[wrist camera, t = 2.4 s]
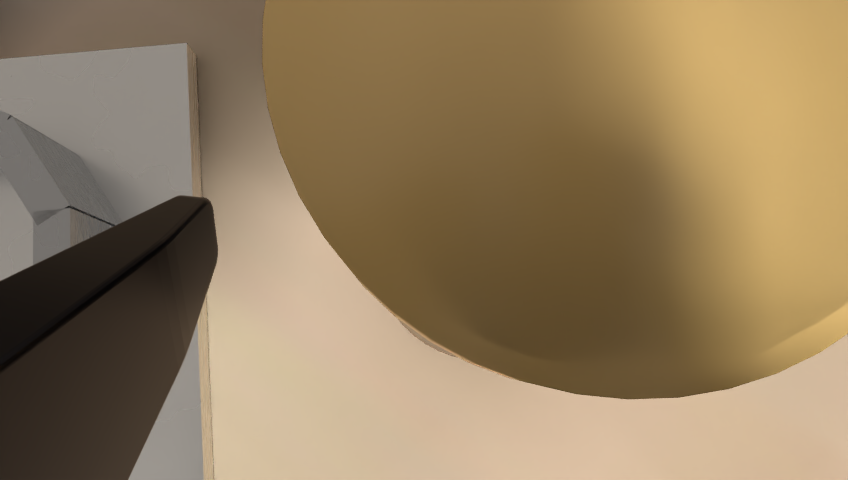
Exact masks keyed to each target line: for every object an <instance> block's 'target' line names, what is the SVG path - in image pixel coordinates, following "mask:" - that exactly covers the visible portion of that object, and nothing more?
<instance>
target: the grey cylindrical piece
mask: <svg viewBox="0 0 848 480" xmlns="http://www.w3.org/2000/svg"><path fill="white" fill-rule="evenodd" d="M262 65H263V73H264V81H265V88H266V96H267V104H268V110H269V113H270V117H271V121H272V124H273V128H274V131H275V135H276V139H277V142H278V146H279V149H280V153H281V155H282V158H283V160H284V162H285V164H286V167H287V169H288V171H289V174H290V176H291V178H292V181H293V183H294V185H295V188H296V190H297V192H298V195H299V197H300V198H301V200H302V201H303V203H304V205H305V206H306V208H307V210H308V211H309V213H310V215H311V216H312V218H313V220H314V221H315V223H316V225H317V226H318V228H319V230H320V231H321V233H322V234H323V236H324V238H325V239H326V240H327V241H328V243H329V244H330V245H331V246H332V248H333V249H334V250H335V252H336V253H337V254H338V255H339V257H340V258H341V259H342V260H343V262H344V263H345V264H346V265H347V267H348V268H349V269H350V270H351V271H352V273H353V274H354V275H355V276H356V278H357V279H358V280H359V281H360V283H361V284H362V285H363V286H364V288H366V289H367V290H368V291H369V292H370V293H371V294H372V295H373V296H374V297H375V298H376V299H377V300H378V301H379V302H380V303H381V304H382V305H383V306H385V307H386V308H387V309H388V310H389V311H390V312H391V313H392V314H393V315H394V316H395V317H396V318H398V320H399V321H400V322H401V323H402V325H403V326H404V327H405V328H407V329H408V330H409V331H410V332H411V333H412V334H413V335H414V336H415V337H417V338H418V339H419V340H421V341H422V342H424V343H425V344H427V345H429V346H430V347H432V348H434V349H436V350H438V351H440V352H443V353H446V354H448V355H451V356H454V357H459V358H461V359H463V360H465V361H467V362H468V363H471V364H474V365H476V366H479V367H482V368H484V369H487V370H489V371H492V372H495V373H497V374H500V375H503V376H505V377H508V378H511V379H515V380H519V381H523V382H527V383H532V384H536V385H540V386H544V387H549V388H553V389H557V390H561V391H565V392H570V393H574V394H580V395H590V396H600V397H610V398H620V399H649V398H678V397H685V396H690V395H696V394H702V393H708V392H713V391H719V390H725V389H730V388H733V387H736V386H739V385H742V384H745V383H749V382H752V381H755V380H758V379H761V378H764V377H767V376H770V375H773V374H777V373H779V372H781V371H783V370H785V369H787V368H789V367H791V366H793V365H795V364H797V363H799V362H801V361H803V360H805V359H807V358H809V357H812V356H814V355H816V354H818V353H820V352H821V351H823V350H824V349H826V348H827V347H829V346H830V345H832V344H833V343H835V342H836V341H838V340H839V339H841V338H842V337H843V336H845V335H846V334H848V0H266V2H265V8H264V15H263V43H262Z"/></svg>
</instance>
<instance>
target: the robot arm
mask: <svg viewBox="0 0 848 480" xmlns="http://www.w3.org/2000/svg"><path fill="white" fill-rule="evenodd" d="M217 257H218V245H217V237H216V229H215V221H214V213H213V207H212V204H211V202H210V201H209V200H208V199H207V198H204V197H195V196H185V195H178V196H176V197H174V198H171V199H169V200H167V201H165V202H163V203H161V204H159V205H157V206H155V207H153V208H151V209H149V210H146V211H144V212H142V213H140V214H138V215H136V216H134V217H132V218H130V219H128V220H126V221H124V222H122V223H119V224H117V225H115V226H113V227H111V228H109V229H107V230H105V231H103V232H101V233H99V234H97V235H94V236H92V237H90V238H88V239H86V240H84V241H82V242H80V243H78V244H76V245H74V246H72V247H69V248H67V249H65V250H63V251H61V252H59V253H57V254H55V255H53V256H51V257H49V258H47V259H44V260H42V261H40V262H38V263H36V264H34V265H32V266H30V267H28V268H26V269H24V270H22V271H19V272H17V273H15V274H13V275H11V276H9V277H7V278H5V279H3V280H1V281H0V480H128V479H129V477H130V475H131V473H132V471H133V469H134V467H135V464H136V462H137V460H138V458H139V456H140V454H141V452H142V450H143V447H144V445H145V443H146V441H147V439H148V437H149V435H150V432H151V430H152V428H153V426H154V424H155V422H156V420H157V418H158V415H159V413H160V411H161V409H162V407H163V405H164V403H165V401H166V398H167V396H168V394H169V392H170V390H171V388H172V386H173V384H174V381H175V379H176V377H177V375H178V373H179V371H180V368H181V366H182V364H183V362H184V359H185V357H186V354H187V352H188V349H189V346H190V343H191V340H192V337H193V334H194V331H195V328H196V325H197V322H198V319H199V316H200V313H201V309H202V306H203V303H204V300H205V297H206V294H207V291H208V288H209V285H210V282H211V279H212V276H213V273H214V269H215V266H216V263H217Z"/></svg>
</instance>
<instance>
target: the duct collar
mask: <svg viewBox="0 0 848 480" xmlns="http://www.w3.org/2000/svg"><path fill="white" fill-rule="evenodd" d="M178 195H185V196H195V197H202V185H201V161H200V137H199V113H198V89H197V65H196V55H195V54H194V52H193V51H192V50H191V48H190V47H189V45H188V44H187V43H179V44H168V45H156V46H145V47H133V48H121V49H110V50H98V51H87V52H75V53H63V54H52V55H40V56H29V57H17V58H5V59H0V281H1V280H3V279H5V278H7V277H9V276H11V275H13V274H15V273H17V272H19V271H22V270H24V269H26V268H28V267H30V266H32V265H34V264H36V263H38V262H40V261H42V260H44V259H47V258H49V257H51V256H53V255H55V254H57V253H59V252H61V251H63V250H65V249H67V248H69V247H72V246H74V245H76V244H78V243H80V242H82V241H84V240H86V239H88V238H90V237H92V236H94V235H97V234H99V233H101V232H103V231H105V230H107V229H109V228H111V227H113V226H115V225H117V224H119V223H122V222H124V221H126V220H128V219H130V218H132V217H134V216H136V215H138V214H140V213H142V212H144V211H146V210H149V209H151V208H153V207H155V206H157V205H159V204H161V203H163V202H165V201H167V200H169V199H171V198H174V197H176V196H178ZM128 480H214V473H213V449H212V425H211V401H210V377H209V353H208V329H207V305H206V297H205V300H204V303H203V306H202V309H201V313H200V316H199V319H198V322H197V325H196V328H195V331H194V334H193V337H192V340H191V343H190V346H189V349H188V352H187V354H186V357H185V359H184V362H183V364H182V366H181V368H180V371H179V373H178V375H177V377H176V379H175V381H174V384H173V386H172V388H171V390H170V392H169V394H168V396H167V398H166V401H165V403H164V405H163V407H162V409H161V411H160V413H159V415H158V418H157V420H156V422H155V424H154V426H153V428H152V430H151V432H150V435H149V437H148V439H147V441H146V443H145V445H144V447H143V450H142V452H141V454H140V456H139V458H138V460H137V462H136V464H135V467H134V469H133V471H132V473H131V475H130V477H129V479H128Z"/></svg>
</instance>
